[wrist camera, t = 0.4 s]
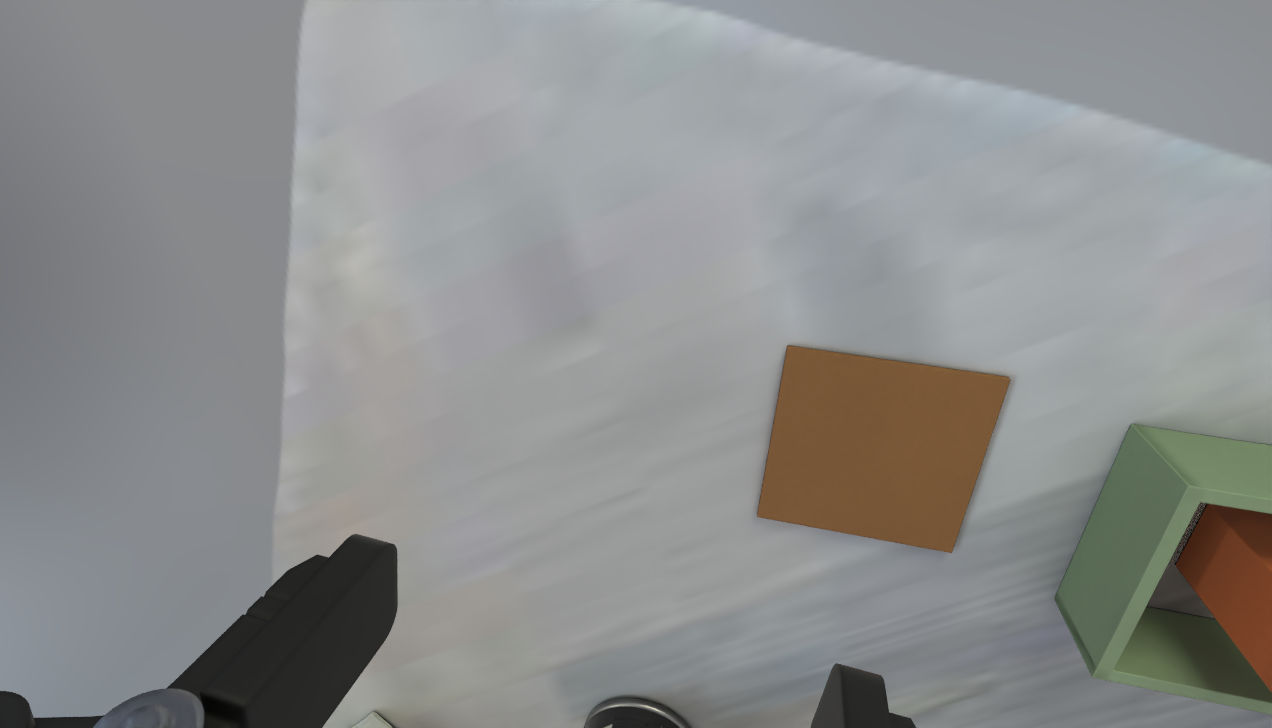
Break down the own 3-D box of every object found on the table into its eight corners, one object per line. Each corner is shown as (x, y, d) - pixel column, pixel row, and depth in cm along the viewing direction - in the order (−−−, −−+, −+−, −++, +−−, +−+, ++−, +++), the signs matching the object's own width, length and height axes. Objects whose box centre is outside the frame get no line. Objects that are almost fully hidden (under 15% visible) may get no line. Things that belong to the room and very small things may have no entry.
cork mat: (950, 548, 42) (951, 553, 42) (757, 513, 44) (757, 516, 44) (1008, 376, 37) (1010, 379, 36) (787, 345, 39) (787, 347, 38)
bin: (1321, 650, 39) (1404, 742, 34) (1054, 599, 42) (1092, 678, 36) (1445, 470, 34) (1566, 546, 29) (1130, 423, 36) (1188, 485, 31)
